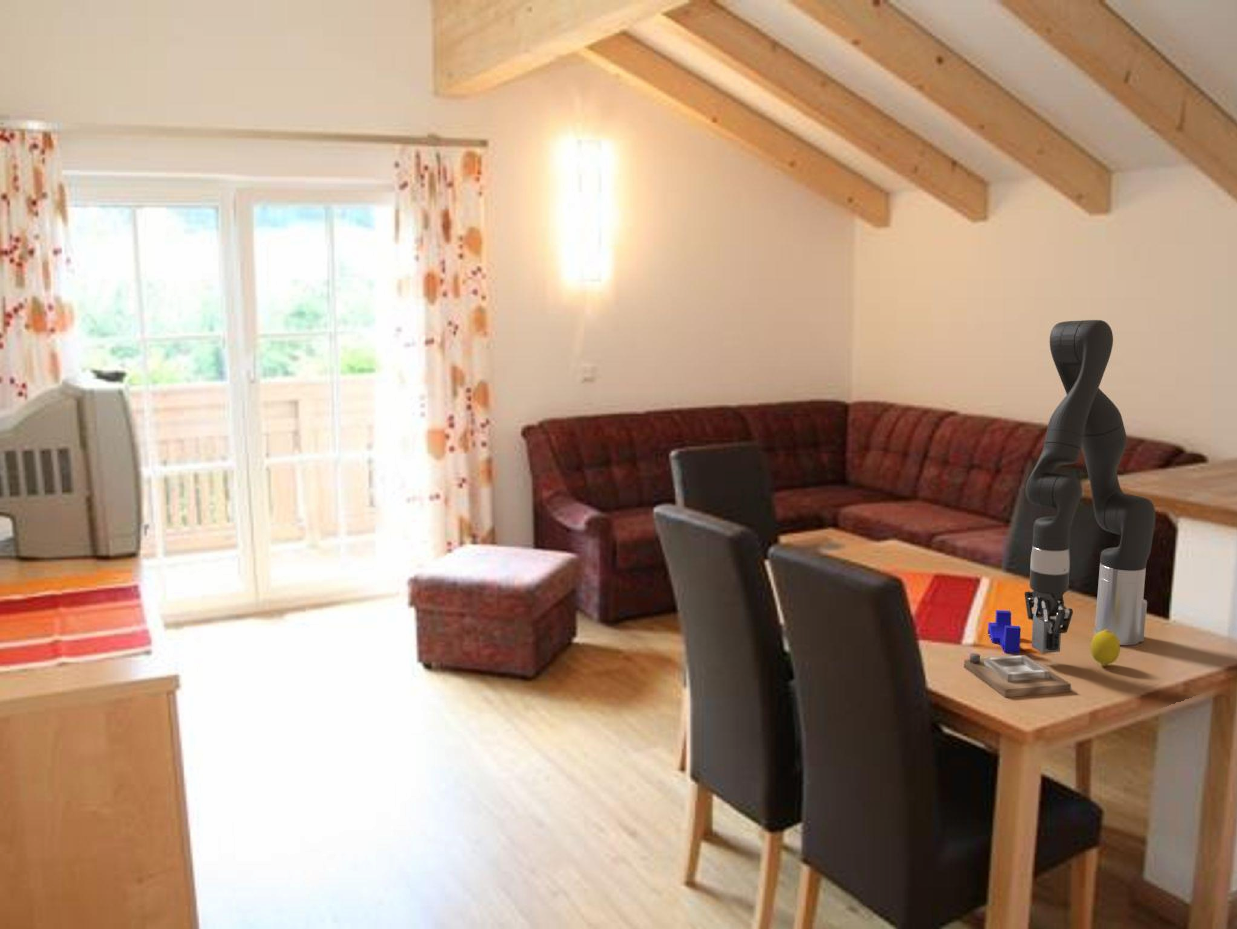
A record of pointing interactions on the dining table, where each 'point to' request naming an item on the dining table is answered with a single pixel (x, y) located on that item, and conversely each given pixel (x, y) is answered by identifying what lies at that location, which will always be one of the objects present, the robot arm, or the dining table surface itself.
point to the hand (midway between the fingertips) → (1045, 645)
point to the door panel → (1016, 675)
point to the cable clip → (1005, 632)
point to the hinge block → (1042, 634)
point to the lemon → (1105, 647)
